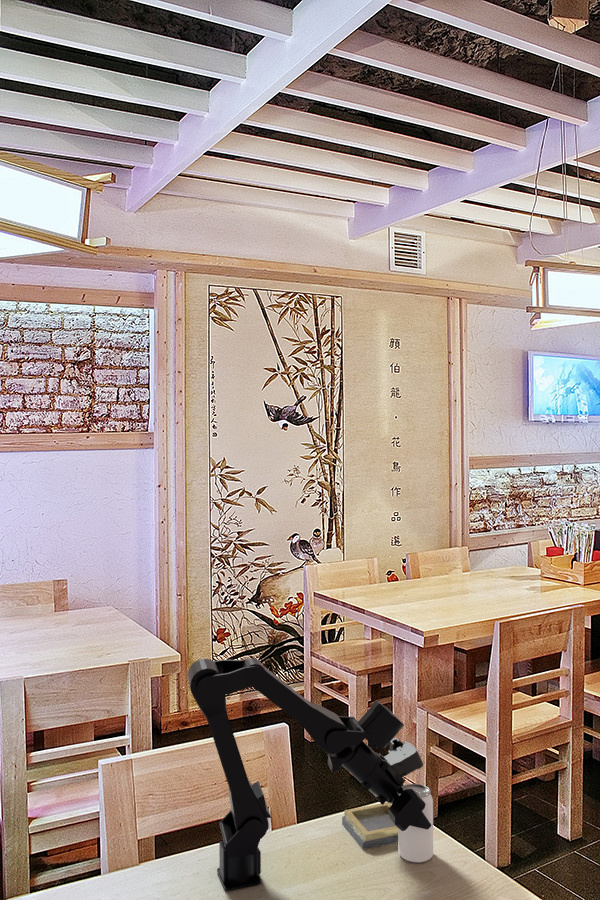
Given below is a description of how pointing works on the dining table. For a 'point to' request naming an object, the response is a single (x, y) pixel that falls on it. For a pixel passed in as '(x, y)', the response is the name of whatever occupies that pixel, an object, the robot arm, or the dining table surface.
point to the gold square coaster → (371, 825)
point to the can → (418, 831)
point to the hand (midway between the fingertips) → (423, 819)
